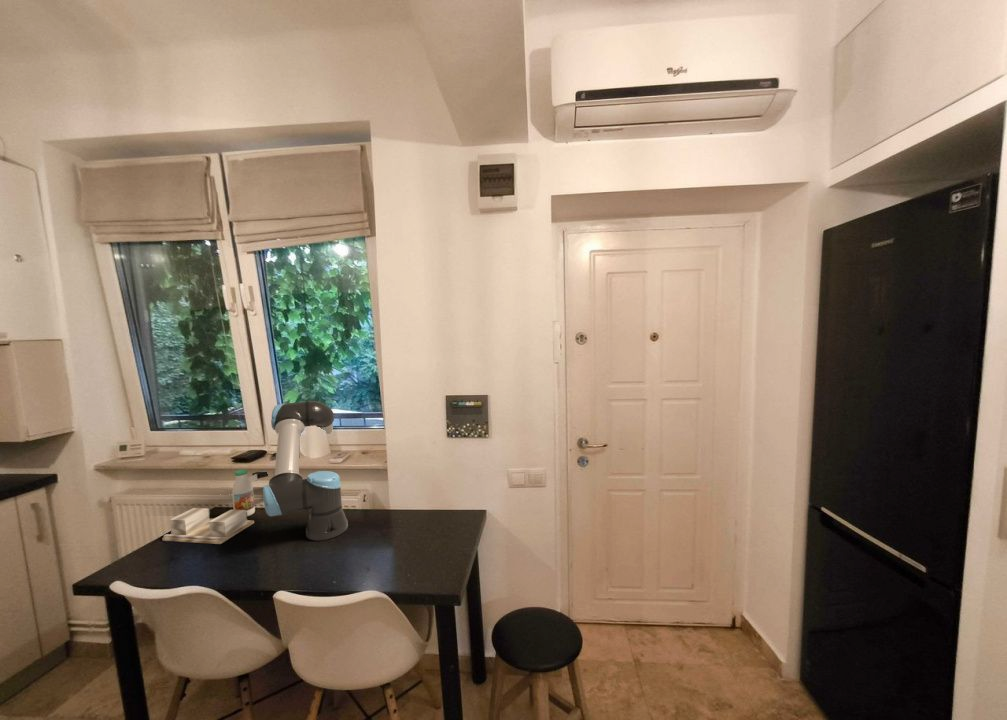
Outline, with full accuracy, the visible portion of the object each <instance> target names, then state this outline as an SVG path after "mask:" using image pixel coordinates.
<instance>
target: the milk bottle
mask: <svg viewBox="0 0 1007 720" xmlns="http://www.w3.org/2000/svg"><path fill="white" fill-rule="evenodd" d="M234 477H235V480H234V484H233V486H232V490H231V495H232V506H233V507H232V508H233V509H232V510H246V512H247V517H249V516H252V515H253V514H255V512H256V507H255V506H256V505H255V496H254V495H255V494H254V487H253V486H254V485H253V484H252V483H253V482H252V483H251V482H250V480H249V479H248V478H249V476H248V469H247V468H242V469H238V470H235V471H234Z"/></svg>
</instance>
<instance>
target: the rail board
mask: <svg viewBox="0 0 1007 720" xmlns="http://www.w3.org/2000/svg"><path fill="white" fill-rule="evenodd" d="M210 515H211V511H210V509H209V508H205V507H201V508H199V507H193V508H191V509H188V510H186V511H184V512H183V513H181V514H178V515H176V516H174V517H172V518H171V519H169V524H170V525H169V526H170V534H169V533H166V534H163V537H162V541H163V542H164V541H165V542H180V543H197V544H198V543H199V544H215V545H221V544H223V543H225V542H226V541H228V540H229V539H231V538H233V537H234V536H235V535H237V534H239V533H241V532H242V531H243V530H245V529H247V528H249V527H250V526H252V525H253V524H255V520H252V519H251V520H248V516H247V512H246V510H233V509H230V510H228V511H226V512H224V513H222V514H220V515H219V516H217V517H214V518H210Z"/></svg>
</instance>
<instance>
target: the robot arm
mask: <svg viewBox="0 0 1007 720" xmlns="http://www.w3.org/2000/svg"><path fill="white" fill-rule="evenodd" d="M334 421H335V414H334V411H333V409H332V408H331V407H329V406H328V405H327V404H324V403H323V402H320V401H315V400H310V401H299V402H284V403H279V404H276V405H275V406H274V407H273V409H272V412H271V420H270V422H271V424H270V425H271V428H272V430H273V431H275V433H276V434H277V444H276V446H277V447H276V455H275V465H274V466H275V467H274V468H275V474H274V473H273V474H274V476H271V478H269V482H268V484H266V485H264V486H262V487H263V488H262V497H263V504H264V510H265V514H266V515H267V516H269V517H276V516H282V515H286V514H287V515H288V514H293V513H297V512H302V511H303V512H304V511H306V510H307V511H308V510H309V518H308V520H307V525H306V529H305V536H306V538H307V539H308V540H310V541H325V540H329V539H333V538H336V537H337V536H340V535H341V534H343V533H344V532H346V531H347V530H348V528H349V524H348V523H349V521H348V518H347V516H346V513H345V511H344V510H343V506H342V505H343V503H342V502H343V501H342V491H341V490H342V489H341V487H342V483H341V477H340V475H339V474H338V473H336V472H334V471H331V470H330V471H329V470H319V471H314V472H311V473H309V474H308V475H307V476H306V478H303V476H302V474H300V470H299V458H300V436H301V433H302V432H303V431H305V427H314V426H315V427H316V428H317V427H320V428H321V429H323V430H325V431H326V433H327V434H330V433H331V432H332V430H333V428H334V423H333V422H334ZM266 477H269V476H268V474H267V472H259V471H255V472H252V475H251V476H248V479H249V480H250V482H251V483H254V482H257V480H259V479H263V478H266Z"/></svg>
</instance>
